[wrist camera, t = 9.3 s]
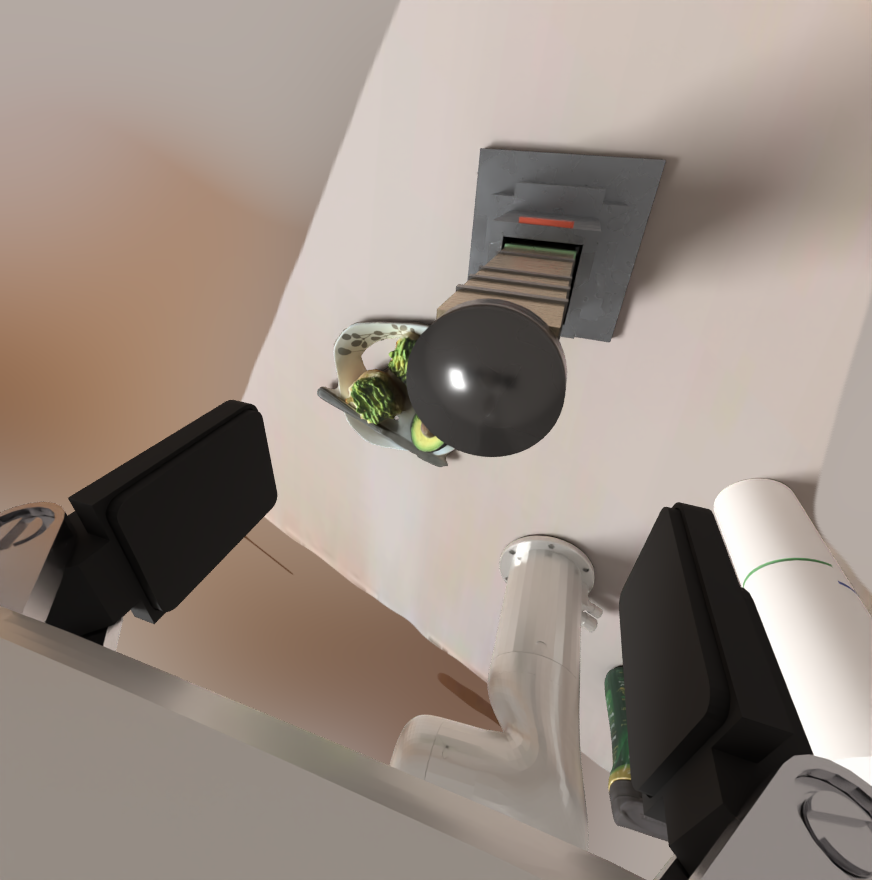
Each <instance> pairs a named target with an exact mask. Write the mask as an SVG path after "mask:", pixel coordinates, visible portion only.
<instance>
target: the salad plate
mask: <svg viewBox="0 0 872 880" xmlns="http://www.w3.org/2000/svg"><path fill="white" fill-rule="evenodd" d="M429 326H430V325H429V324H425V323H421V322H407V323H395V322H363V323H362V322H360V323H355V324H353V325H351V326H349V327H348V328H346V329H344V330H343V332H342V333H341V335H340V336H339V337H338V339H337V340H336V341H335V343H334V360H335V365H336V371H337V376H338V387H337V388H336V389H330V388H327V387H320V388H319V389H318V391H317V394H318V396H319V397H320V398H321V399H323V400H324V401H326V402H328V403H329V404H331V405H333V406H335V407H336V408H338V409H340V410H342V411H343V412H344V414H345V416H346V419H347V421H348V423H349V424H350V426H351V427H352V428H353V429H354V431H355V432H356V433H357V434H358V435H359V436H361V437H362V438H363V439H364V440H365V441H367V442H369V443H371V444H373V445H378V446H381V447H386V448H393V449H399V450H408V451H410V452H412V453H414V454H416V455H417V456H418V457H419V458H421V459H422V460H424V461H426V462H428V463H430V464H433V465H435V466H438V467H443V466H448V464H447V461H446V456H447V454H448V453H450V452H451V451H453V450H454V448H453V447H451V446H449V445H447V444H445V443H444V442H442V441H441V440H439V439H438V438H437V437H436V436H434V435H433V434H432V433H431V432H430V431H429V430H428V429H427V428H426V427H425V426H424V424H423V423H422V422H421V420H420V419H419V417H418V416H417V414H416V412H415V411H414V409H413V406H412V404H411V402H410V398H409V395H408V391H407V385H406V370H407V363H408V359H409V356H410V353H411V351H412V348H413V346H414V345H415V343H416V341H417V340H418V338H419V337H420V336H421V334H422V333H423V332H424V331H425V330H426V329H427V328H428V327H429ZM393 338H399V340H398V341H397V342H396V347H395V350H394V351H392V352H390V353H389V356H390V357H391V358H392V359H391V361H390V362H389V364H388V366H389V368H387V369H385V370H384V371H380V370H377V369H374V370H368V371H367V370H366V368H365V366H364V364H363V361H362V358H361V355H362V354H363V352H364V351H365V350H366V349H367V348H368V347H369V346H371V345H372V344H374V343H375V342H377V341H380V340H384V339H393ZM396 415H397V416H398V417H399V420H398V421H397V420H395V419H394V417H395V416H396Z"/></svg>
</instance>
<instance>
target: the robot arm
mask: <svg viewBox="0 0 872 880" xmlns="http://www.w3.org/2000/svg"><path fill="white" fill-rule="evenodd" d="M68 499H69V501H70V502H71V504H72V506H73V508H74V510H75V511H74V512H73V513H71V514H70V515H68V516H67V514H66V513H65V511H64V509H63V508H62V506H60V505H58V504H56V503H52V502H34V503H28V504H23V505H20V506H15V507H12V508H10V509H7V510H4V511H2V512H0V880H645V879H643V878H641V877H639V876H637V875H636V874H634V873H632V872H630V871H627V870H625V869H624V868H621V867H620V866H617V865H616V864H614V863H612V862H610V861H608V860H605V859H603V858H601V857H598V856H596V855H594V854H592V853H590V852H588V836H589V834H588V819H587V810H586V801H585V792H584V784H583V775H582V766H581V754H580V727H579V698H580V650H581V626H582V627H583V628H585V629H586V630H588V631H589V632H593V631H594V630H595V629H596V627H597V624H598V622H597V620H596V619H595V618H594V617H596V618H600V617H601V615H602V612H603V611H602V609H601V608H599V607H598V606H596V605H595V604H592V603H591V602H590V601H589V598H588V594H589V593H590V591H591V590H592V588H593V585H594V568H593V566H592V563H591V561H590V560H589V559H588V557H587V556H586V555H585V554H584V553H583V552H582V551H581V550H580V549H578V548H577V547H575V546H574V545H572V544H570V543H568V542H566V541H564V540H561V539H558V538H554V537H548V536H527V537H523V538H519V539H517V540H515V541H513V542H511V543H510V544H509V545H507V547H506V548H505V549H504V550H503V552H502V554H501V558H500V562H499V569H500V573H501V576H502V578H503V579H504V581H505V582H506V583H507V585H506V590H505V595H504V600H503V605H502V610H501V615H500V620H499V625H498V629H497V634H496V639H495V644H494V649H493V654H492V659H491V664H490V669H489V675H488V693H489V698H490V702H491V705H492V708H493V710H494V712H495V715H496V717H497V719H498V721H499V723H500V725H501V727H502V729H503V731H504V732H497V731H493V730H485V729H481V728H478V727H474V726H470V725H467V724H463V723H460V722H456V721H453V720H449V719H446V718H442V717H438V716H433V715H419V716H416V717H414V718H413V719H411V720H410V721H409V722H408V723H407V724H406V726H405V727H404V729H403V730H402V732H401V734H400V736H399V739H398V741H397V744H396V747H395V749H394V752H393V755H392V758H391V762H390V765H387V764H384V763H382V762H380V761H377V760H375V759H373V758H370V757H368V756H365V755H363V754H361V753H358V752H356V751H354V750H351V749H349V748H346V747H344V746H342V745H340V744H337V743H335V742H332V741H330V740H327V739H325V738H323V737H320V736H318V735H316V734H313V733H311V732H308V731H306V730H304V729H301V728H299V727H297V726H294V725H292V724H289V723H287V722H285V721H282V720H280V719H277V718H275V717H273V716H270V715H268V714H265V713H263V712H261V711H258V710H256V709H253V708H251V707H249V706H246V705H244V704H241V703H239V702H237V701H234V700H232V699H229V698H227V697H225V696H222V695H220V694H218V693H215V692H213V691H210V690H208V689H205V688H203V687H201V686H198V685H196V684H193V683H191V682H188V681H186V680H184V679H182V678H179V677H177V676H174V675H172V674H169V673H167V672H164V671H162V670H160V669H157V668H155V667H152V666H150V665H147V664H145V663H142V662H140V661H138V660H135V659H133V658H130V657H128V656H125V655H123V654H121V653H118V652H116V648H117V644H118V640H119V635H120V631H121V626H122V622H123V616H124V615H125V614H126V613H127V612H128V611H130V610H131V611H132V613H133V614H134V616H135V617H137V618H140V619H142V620H145V621H147V622H150V623H153V624H155V623H156V622H157V621H158V620H159V619H160V618H161V617H162V616H163V615H164V614H165V613H166V612H168V611H171V610H173V609H175V608H176V607H177V606H178V605H179V604H180V603H181V602H182V601H183V600H184V599H185V598H186V597H187V596H188V595H189V593H191V591H192V590H193V589H194V588H195V587H196V586H197V585H198V584H199V583H200V582H201V581H202V580H203V579H204V578H205V577H206V576H207V575H208V574H209V573H210V572H211V571H212V570H213V569H214V568H215V567H216V566H217V565H218V564H219V563H220V562H221V560H222V559H223V558H224V557H225V556H226V555H227V554H228V553H229V552H230V551H231V550H232V549H233V548H234V547H235V546H236V545H237V544H238V543H239V542H240V541H241V540H242V539H243V538H244V537H245V536H246V535H247V534H248V533H249V532H250V531H251V529H252V528H253V527H254V526H255V525H256V524H257V523H258V522H259V521H260V520H261V519H262V518H263V517H264V516H265V515H266V514H267V513H268V512H269V511H270V510H271V509H272V508H273V506H274V505H275V503H276V500H277V489H276V484H275V479H274V474H273V469H272V464H271V459H270V453H269V448H268V443H267V438H266V433H265V428H264V422H263V418H262V415H261V413H260V412H258V410H257V408H256V407H255V406H254V405H252V404H249V403H244V402H240V401H236V400H229V401H226V402H225V403H223V404H221V405H219V406H218V407H216V408H215V409H213V410H211V411H210V412H208V413H206V414H205V415H203V416H201V417H200V418H198V419H197V420H195V421H193V422H192V423H190V424H188V425H187V426H185V427H183V428H182V429H180V430H178V431H177V432H176V433H174V434H172V435H170V436H169V437H167V438H165V439H164V440H162V441H161V442H159V443H157V444H156V445H154V446H152V447H151V448H149V449H147V450H146V451H144V452H142V453H141V454H139V455H138V456H136V457H134V458H133V459H131V460H129V461H128V462H126V463H124V464H123V465H121V466H119V467H118V468H116V469H115V470H113V471H111V472H110V473H108V474H106V475H105V476H103V477H102V478H100V479H98V480H96V481H95V482H93V483H92V484H90V485H88V486H87V487H85V488H83V489H82V490H80V491H78V492H77V493H75V494H74V495H72V496H70V497H69V498H68ZM584 610H586V611H588V613H590V614H591V615H593V616H594V617H592V616H591V615H589V614H588V613H586V612H583V611H584ZM619 614H620V629H621V643H622V658H623V673H624V687H625V702H626V716H627V731H628V746H629V760H630V775H631V782H632V786H633V788H634V789H635V790H636V791H639V792H641V793H642V799H643V811H644V815H646V816H648V817H651V818H653V819H656V820H658V821H661V822H664V823H666V826H667V834H668V842H669V847H670V848H671V850H672V851H673V852H674V854H673V855H672V857H671V858H670V859H669V861H668V862H667V863H666V864H665V865H664V867H663V868H662V869H661V871H660V872H659V873H658V874H657V876H656V877H655V878H654V879H653V880H872V786H871V785H870V784H868V783H867V782H865V781H864V780H863V779H861V778H860V777H859V776H857V775H856V774H855V773H853V772H852V771H851V770H849V769H847V768H845V767H843V766H841V765H839V764H837V763H835V762H833V761H831V760H829V759H826V758H822V757H818V756H814V754H813V752H812V749H811V746H810V744H809V741H808V739H807V736H806V734H805V731H804V728H803V726H802V723H801V721H800V718H799V716H798V713H797V710H796V708H795V705H794V703H793V700H792V698H791V695H790V692H789V690H788V687H787V685H786V682H785V680H784V677H783V675H782V672H781V669H780V667H779V664H778V662H777V659H776V657H775V654H774V651H773V649H772V646H771V644H770V641H769V639H768V636H767V633H766V631H765V628H764V626H763V623H762V621H761V618H760V615H759V613H758V610H757V608H756V605H755V603H754V600H753V598H752V597H751V595H750V593H749V592H748V591H747V590H746V589H745V588H743V587H740V585H739V583H738V580H737V577H736V575H735V572H734V569H733V566H732V564H731V561H730V558H729V556H728V553H727V550H726V547H725V545H724V542H723V539H722V537H721V534H720V531H719V528H718V526H717V523H716V520H715V518H714V515H713V513H712V511H711V510H709V509H706V508H702V507H697V506H693V505H688V504H684V503H680V502H678V503H676V504H675V505H674V506H673V507H672V508H669V507H664V508H663V509H662V510H661V512H660V514H659V516H658V518H657V520H656V522H655V524H654V526H653V528H652V530H651V532H650V534H649V536H648V538H647V540H646V543H645V545H644V547H643V549H642V551H641V553H640V555H639V557H638V559H637V561H636V563H635V565H634V567H633V569H632V571H631V573H630V575H629V577H628V579H627V581H626V584H625V586H624V588H623V590H622V592H621V596H620V601H619Z"/></svg>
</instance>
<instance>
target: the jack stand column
mask: <svg viewBox="0 0 872 880" xmlns="http://www.w3.org/2000/svg"><path fill="white" fill-rule="evenodd" d="M575 248H576V244H570V243H560V242H551V241H542V240H533V239H524V238H515V239H514V240H512V241H511V242H510V243H506V244H505V248H504V249H503V250H501V251H500V250H498V251H496V256H495V257H494V258H493V259H492V260H490V261H489V262H488V263H487V264H486V265H485V266H482V265H480V266H479V269H478V272H477V273H476V274H470V275H469V276H468V281H467V282H466V283H465V284H464V285H461V284H459V285H457V286H456V292H455V293H454V294H453V295H452V296H451V297H450V298H449V299H448V300H446V301H445V302H444V303H443V304H442V305H441V306H440V307H439V308H438V309H437V317H436V320H435V321H434V322H433V323H432V324H431V325H430V326H429V327H428V328H427V329H426V330H425V331H424V332H423V333H422V334H421V336H420V337H419V338H418V340H417V341H416V343H415V345H414V346H413V348H412V351H411V353H410V356H409V359H408V363H407V370H406V385H407V391H408V395H409V398H410V402H411V404H412V406H413V409H414V411H415V412H416V414H417V416H418V417H419V419H420V420H421V422H422V423H423V424H424V426H425V427H426V428H427V429H428V430H429V431H430V432H431V433H432V434H433V435H434V436H436V437H437V438H438V439H439V440H441V441H442V442H444V443H445V444H447V445H449V446H451V447H453V448H454V449H457V450H459V451H462V452H465V453H468V454H472V455H477V456H484V457H501V456H507V455H512V454H515V453H519V452H521V451H523V450H526V449H528V448H530V447H531V446H533V445H535V444H536V443H538V442H539V441H540V440H541V439H543V438H544V437H545V436H546V435H547V434H548V433H549V432H550V430H551V429H552V428H553V426H554V425H555V423H556V422H557V420H558V418H559V416H560V413H561V410H562V407H563V404H564V398H565V391H566V382H567V366H566V359H565V355H564V351H563V349H562V346H561V344H560V342H559V339H560V335H561V331H562V326H563V322H564V318H565V313H566V309H567V305H568V300H569V299H568V297H569V293H570V288H571V287H570V286H571V281H572V277H571V276H572V272H573V268H574V263H575V257H576V252H577V251H575Z"/></svg>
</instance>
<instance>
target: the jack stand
mask: <svg viewBox="0 0 872 880" xmlns="http://www.w3.org/2000/svg"><path fill="white" fill-rule="evenodd" d="M665 162H666V160H658V159H642V158H626V157H610V156H594V155H578V154H562V153H546V152H530V151H514V150H498V149H482V148H480V158H479V168H478V178H477V189H476V199H475V209H474V220H473V230H472V240H471V251H470V261H469V272H468V276H469V275H470V274H476V273H477V272H478V269H479V266H480V265H482V266H485V265H486V264H487V263H488V262H489V261H490V260H492V259H493V258H494V257H495V256H496V251H498V250H500V251H501V250H503V249H504V248H505V244H506V243H510V242H511V241H512V240H514V239H515V238H524V239H533V240H542V241H551V242H560V243H570V244H576V248H575V251H577V252H576V257H575V263H574V268H573V272H572V276H571V277H572V281H571V286H570V287H571V288H570V293H569V297H568V299H569V300H568V305H567V309H566V313H565V318H564V322H563V326H562V331H561V335H560V336H561V337H567V338H574V337H579V338H585V339H592V340H598V341H605V342H610V341H611V338H612V335H613V331H614V328H615V325H616V322H617V318H618V315H619V312H620V309H621V305H622V302H623V299H624V296H625V292H626V289H627V286H628V283H629V279H630V276H631V273H632V270H633V266H634V263H635V260H636V257H637V253H638V250H639V247H640V244H641V240H642V237H643V234H644V230H645V227H646V224H647V221H648V217H649V214H650V211H651V208H652V204H653V201H654V198H655V195H656V191H657V188H658V185H659V182H660V178H661V175H662V172H663V169H664V165H665Z"/></svg>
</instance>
